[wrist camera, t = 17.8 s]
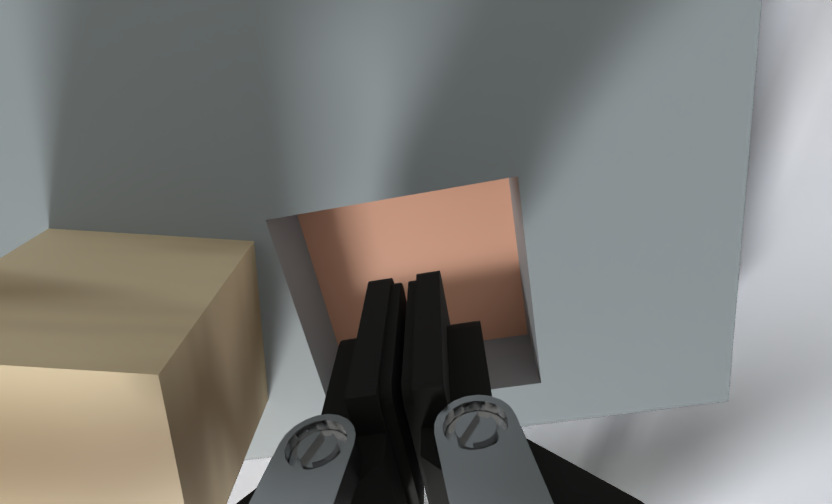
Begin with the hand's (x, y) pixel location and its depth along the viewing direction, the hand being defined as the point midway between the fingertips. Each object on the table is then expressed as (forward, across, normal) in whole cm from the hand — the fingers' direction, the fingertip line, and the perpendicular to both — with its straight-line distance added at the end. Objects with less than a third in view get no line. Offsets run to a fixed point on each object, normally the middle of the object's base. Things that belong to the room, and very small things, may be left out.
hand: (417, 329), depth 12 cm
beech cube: (+1, +7, 0) cm, 7 cm away
